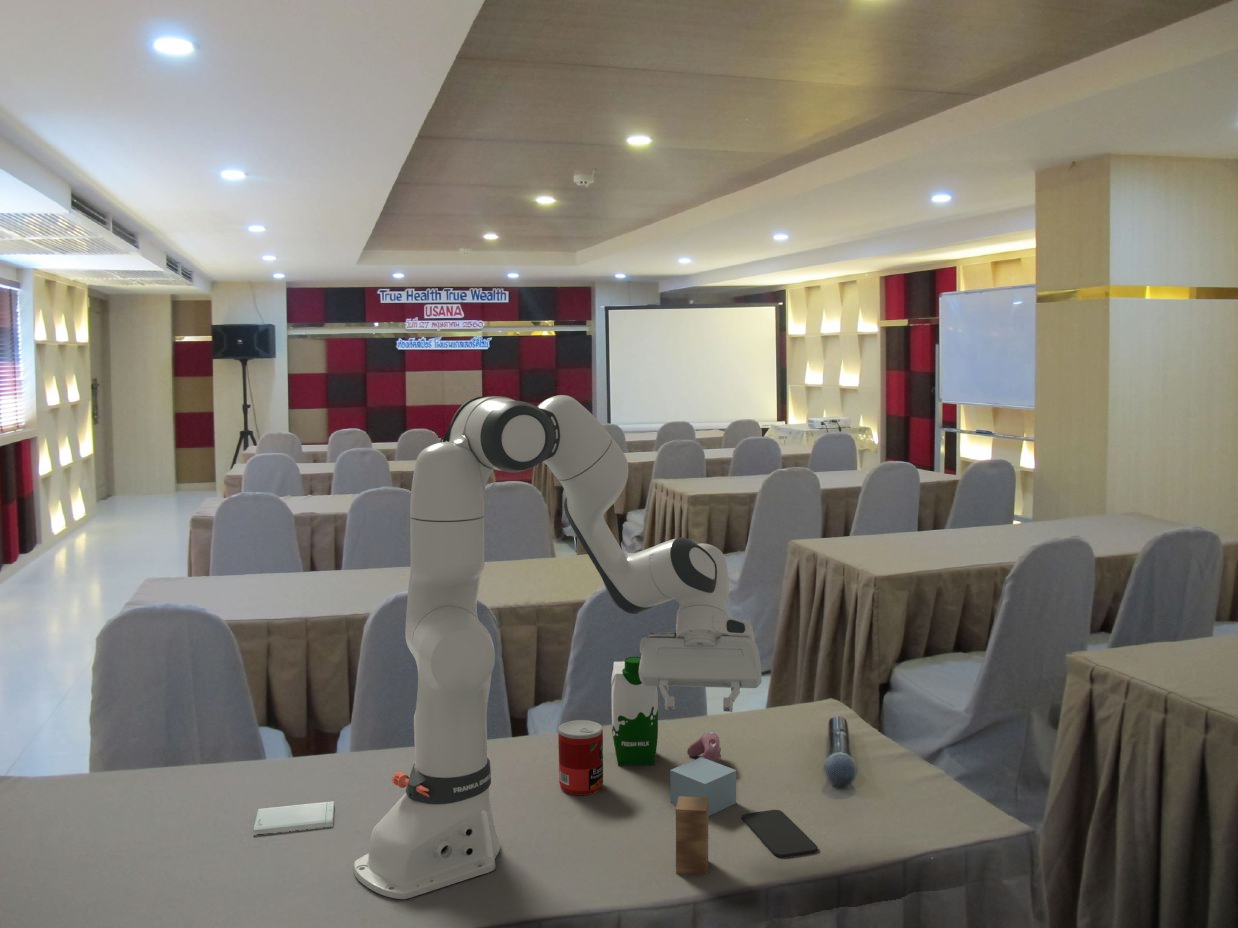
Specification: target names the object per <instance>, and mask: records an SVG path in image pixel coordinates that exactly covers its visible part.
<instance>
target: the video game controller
mask: <svg viewBox="0 0 1238 928" xmlns="http://www.w3.org/2000/svg"><path fill="white" fill-rule="evenodd" d="M721 751H722V748H721V747H720V737H719V735H718V734H717V733H715V732H709V731H707V730H706V732H705V733H703V734H702V735H701V736H700V737H699V738H698V739H697V740H696V741H694V742H692V743H691V744H690V745H689V746H688V748H687V751H686V752H687V753H686V754H687V755H688V756H689V757H690V758H691V757H692V758H694V757H697V756H699V757H698V758H701V757H702V758H705V759H708V760H710V761H713V762H716V763H718V762H719V761H720V760H721V759H722V754H721ZM717 761H718V762H717Z"/></svg>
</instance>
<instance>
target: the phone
mask: <svg viewBox="0 0 1238 928" xmlns="http://www.w3.org/2000/svg"><path fill="white" fill-rule="evenodd" d="M741 820H742V821H743V822H744V824H745V825H746V826H747V827H748V828H749V830H751V832H752V833H754V835H755V836H756V837H757V838H758V840H760V841H761V843H762V844H763V845H764V846H765V848H767V850H768V851H770V853H771V854H772V855H773V856H774V857H775V856H776V858H779V859H786V858H793V857H798V856H806V855H811V854H816V853H817V852H819V851H818V850H819V849H818V845H817V844H816V842H814V841H813V840H812V839H811V838H810V837H809V836H808V835H807V834H806V833H805V832H804V831H803V830H802V829H800V827H799V826H797V824H796V823H795V822H793V821H792V819H790V818H789V817H788V815H786V813H784V812H783V811H782V810H779V809H768V810H763V811H754V812H748V813H743V814H742V815H741Z"/></svg>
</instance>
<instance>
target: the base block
mask: <svg viewBox="0 0 1238 928" xmlns="http://www.w3.org/2000/svg"><path fill="white" fill-rule="evenodd" d="M700 757H701V756H700ZM669 772H670V773H669V775H670V778H669V779H670V780H669V784H670V786H669V787H670V788H669V789H670V790H669V792H670V795H669V796H670V797H669V798H670V799H669V801H670V802H669V803H670V804H672V805H674V806H677V801H678V797H679V796H686V797H703V798H708V817H710V816H711V815H714V814H717V813H719V812H721V811H722V810H724V809H727V808H729V807H732V806H733V805H734V804H737V770H736V769H734V768H731V767H728V766H725V765H723V764H721V763H718V762H713V761H710V760H708V759H705V758H702V757H701V758H699V757H698V758H696V759H693V760H691V761H688V762H686V763H684V764H681V765H678V766H677V767H673V768H672V769H670V770H669Z"/></svg>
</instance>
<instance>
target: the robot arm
mask: <svg viewBox="0 0 1238 928" xmlns="http://www.w3.org/2000/svg"><path fill="white" fill-rule="evenodd" d="M541 463H544V465H547V467H548V469H549V470H550V471H551V473H552V475H554V477H555V478H556V479H557V481H558V482H559V483H560V484H561V486H562V488H563V490H564V492H565V498H564V501H563V508H564V514H565V515H566V519H567V521H568V522H569V524H570V527H571V528H572V530H573V532H574V533H575V535H576V537H577V539H578V541H579V542H580V543H581V546H582V547H583V548H584V550H585V553H586V554H587V555H588V557H589V559H590V560H591V562H592V564H593V565H594V567H595V569H596V570H597V572H598V574H599V575H600V577H601V579H602V582H603V585H604V587H605V590H606V593H607V595H608V597H609V599H610V600H611V602H612V603H613V604H614V605H615V606H616V607H617V608H618V609H620V610H622V611H623V612H626V613H628V614H631V615H637V614H640V613H642V612H644V611H647V610H648V609H649V610H650V609H651V608H653V607H656V606H657V605H661V604H664V603H667V602H670V601H672V600H675V602H677V603H678V604H679V608H678V609H677V611H676V622H675V623H676V624H675V632H654V631H653V632H649V634H646V635H644V636H642V638H641V639H640V641H639V653H640V654H641V656H640V657H641V660H640V665H639V678H640V680H641V682H642V683H643V684H644V685H645V686H657V687H659V691H660V693H661V696H662V697H663V700H664V710H665V711H675V708H676V707H675V705H676V704H675V703H676V700H675V696H674V695H670V694H669V693H668V692H669V691H670V689H669V688H670V687H686V688H689V687H691V688H726V689H727V688H730V691H731V693H730V694H729V695H728V696H727V697H723V699H722V700H723V705H722V709H723V712H729V713H732V712H733V711H734V703H735V701H736V699H737V698H738V697H739V695H740V693H741V689H757V688H759V686H760V685H761V684H762V678H763V677H762V665H761V664H762V663H761V657H760V651H759V647H758V645H757V643H756V641H755V634H754V629H753V625H752V624H750V623H748V622H746V621H742V620H738V619H736V618H733V617H730V616H729V614H728V611H727V604H728V601H729V598H730V597H729V595H730V593H729V592H730V588H729V587H730V583H729V582H730V581H729V569H728V565H727V561H726V558H725V557H726V556H725V555H724V553H723V552H722V550H721V549H720V548H718V547H716V546H714V545H712V544H709V543H703V542H702V543H700V542H699V543H696V542H695V541H693V540H691V539H689V538H686V537H683V536H682V537H681V536H680V537H677V538H673V539H670V540H667V541H664V542H661V543H658V544H656V545H654V546H652V547H649V548H646V549H643V550H640V551H638V552H634V553H633V552H627V551H624V549H622V548H621V546H620V544H619V543H618V541H617V539H616V538H615V536H614V534H613V532H612V530H611V529H610V527H609V525H608V524H607V522H606V520H605V517H604V515H605V513H606V512H607V511H608V510H609V509H610V508H611V507H612V506H613V505H614V504H615V503H616V501H617V500H618V499H619V497H620V496H621V494H622V493H623V491H624V489H625V487H626V485H627V482H628V479H629V478H628V477H629V462H628V459H627V457H626V455H625V453H624V451H623V450H622V448H621V447H620V446H619V444H618V442H617V441H616V440H615V439H614V437H613V436H612V435H611V434H610V433H609V432H608V430H607V429H606V428H605V426H604V425H602V423H601V422H600V421H599V420H598V419H597V418H596V417H595V416H594V415H593V414H592V413H591V412H590V411H589V410H588V409H587V408H586V407H585V406H583V405H582V404H581V403H580V402H579V401H578V400H577V399H575V398H574V397H572V396H570V395H565V394H564V395H563V394H559V395H558V394H557V395H555V396H554V395H553V396H551V397H549V398H547V399H545V400H543V401H542V402H540V403H539V404H537V406H536V405H535V404H532V403H529V402H525V401H521V400H515V399H512V398H510V397H507V396H500V395H499V396H496V395H495V396H488V395H487V396H483V395H481V396H477V397H475V398H470V399H469V400H468V401H466V402H464V403H463V404H461V406H460V407H459V408H458V409H457V410H456V412H455V413H454V416H452V419H451V422H450V425H449V426H448V429H447V430H446V432H445V434H444V436H443V438H442V442H437V443H434V444H431V445H428V446H427V447H425V448H424V449H422V450H421V451H420V452H419V454H418V456H417V458H416V460H415V465H414V469H413V470H414V471H413V476H412V482H411V491H410V503H409V507H410V510H409V517H410V518H409V521H410V522H409V523H410V525H409V527H410V529H409V531H410V534H409V535H410V537H409V540H410V542H409V543H410V549H409V550H410V565H409V566H410V569H409V580H408V581H409V582H408V589H407V597H406V598H407V599H406V611H405V612H406V614H405V627H404V628H405V629H404V630H405V632H404V634H405V641H406V645H407V647H408V649H409V651H410V652H411V654H412V656H413V658H414V660H415V663H416V666H417V675H418V676H417V696H416V704H415V705H416V706H415V712H414V715H413V730H414V731H413V732H414V733H413V734H414V736H413V737H414V738H413V740H414V764H413V766H412V769H411V771H410V774H409V775H408V774H404V773H403V772H401V771H396V772H395V773H394V774H393V776H392V780H391V781H392V784H393V785H395V786H398V787H399V788H400V789H401V788H402V789H404V788H405V793H404V794H403V795H402V796H401V797H400V798H399V800H397V802H396V803H395V804H394V805H393V806H392V807H391V809H390V810H389V811H388V812H387V813H386V814H385V815H384V816H383V817H382V818H381V820H379V822H378V823H377V824H376V825H375V826H374V827H373V829H372V832H371V834H370V839H369V846H368V853H366V854H364V855H362V856H361V857H359V858H358V859H355V860H354V863H353V875H354V876H355V878H356V879H357V880H358V882H360V883H361V885H364V886H365V887H366V888H368V889H370V890H371V891H373V892H374V893H377V894H379V895H381V896H384V897H388V898H391V899H398V900H407V899H410V898H414V897H417V896H420V895H422V894H426V893H429V892H432V891H435V890H438V889H442V888H444V887H447V886H451V885H454V884H456V883H460V882H462V881H466V880H469V879H472V878H476V877H478V876H481V875H485V874H488V873H491V872H492V871H494V870H495V869H496V857H497V856H498V855H499V852H500V850H501V843H500V840H499V838H498V834H497V831H496V827H495V822H494V817H493V812H492V807H491V798H490V785H491V784H492V772H491V769H492V768H491V760H490V758H489V757H488V731H487V730H488V729H487V728H488V726H487V719H488V717H487V716H488V715H487V714H488V713H487V711H488V702H489V696H490V688H491V682H492V681H491V680H492V672H493V671H494V668H495V665H496V664H495V663H496V651H495V646H494V642H493V639H492V635H491V633H490V632H489V630H488V629H487V627H486V626H485V625H484V623H482V622H481V621H480V620H479V618H478V612H477V608H478V607H477V603H478V597H479V596H478V594H479V589H480V582H481V579H482V573H483V571H484V568H485V500H484V499H485V498H484V494H485V490H486V485H487V482H488V480H489V478H490V476H491V474H493V472H494V470H495V471H501V472H506V473H521V472H524V471H528V470H530V469H533V468H534V467H536V466H538V465H539V464H541Z"/></svg>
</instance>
